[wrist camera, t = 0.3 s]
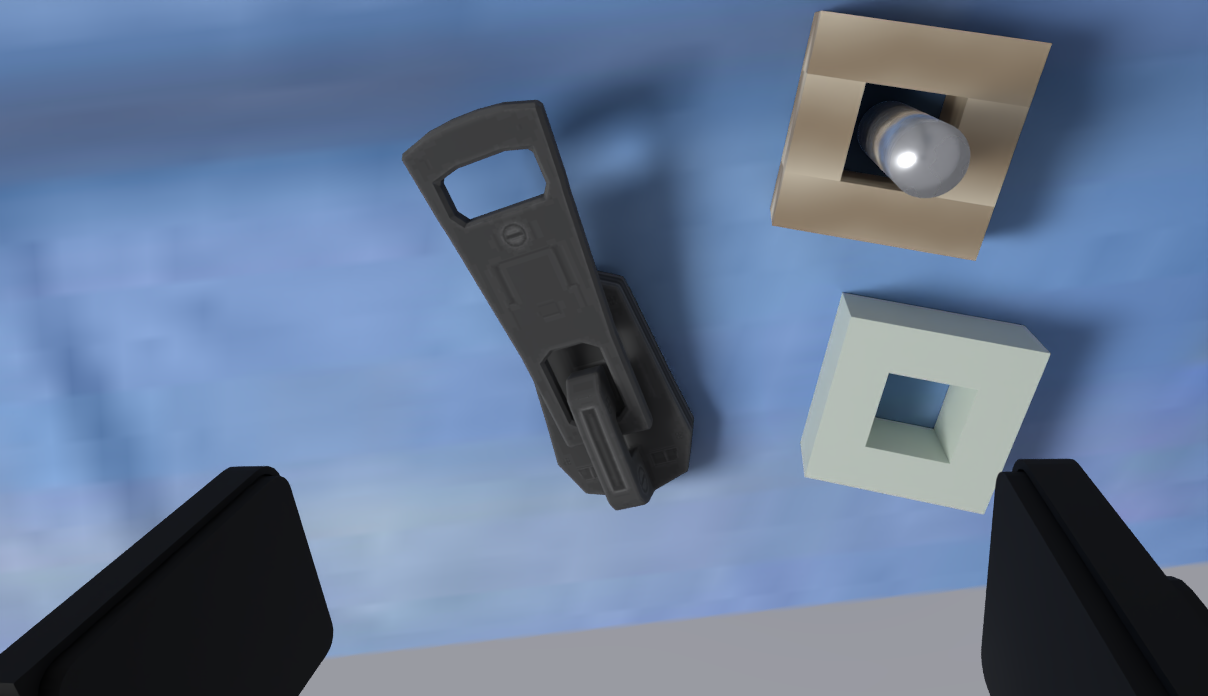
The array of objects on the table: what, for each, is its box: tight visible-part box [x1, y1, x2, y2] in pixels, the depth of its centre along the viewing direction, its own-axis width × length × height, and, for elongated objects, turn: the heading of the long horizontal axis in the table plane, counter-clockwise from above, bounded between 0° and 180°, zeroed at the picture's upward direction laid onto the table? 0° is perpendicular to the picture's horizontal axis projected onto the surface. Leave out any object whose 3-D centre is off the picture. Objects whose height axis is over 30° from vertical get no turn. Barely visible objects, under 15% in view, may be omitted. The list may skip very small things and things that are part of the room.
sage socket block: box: [800, 293, 1051, 514], centre depth 42 cm, size 10×10×4 cm
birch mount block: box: [770, 11, 1052, 261], centre depth 37 cm, size 10×10×4 cm
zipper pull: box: [402, 100, 694, 510], centre depth 43 cm, size 9×7×25 cm
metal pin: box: [857, 101, 970, 198], centre depth 34 cm, size 3×3×10 cm
